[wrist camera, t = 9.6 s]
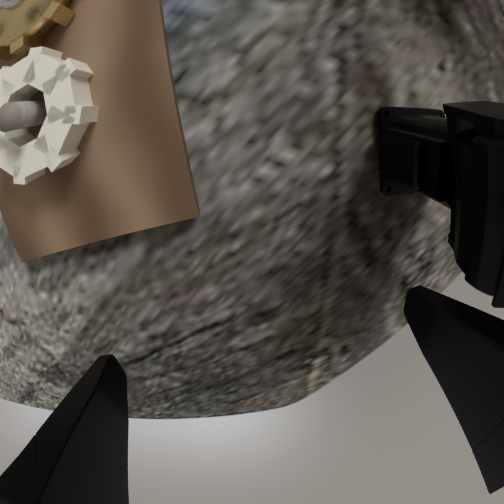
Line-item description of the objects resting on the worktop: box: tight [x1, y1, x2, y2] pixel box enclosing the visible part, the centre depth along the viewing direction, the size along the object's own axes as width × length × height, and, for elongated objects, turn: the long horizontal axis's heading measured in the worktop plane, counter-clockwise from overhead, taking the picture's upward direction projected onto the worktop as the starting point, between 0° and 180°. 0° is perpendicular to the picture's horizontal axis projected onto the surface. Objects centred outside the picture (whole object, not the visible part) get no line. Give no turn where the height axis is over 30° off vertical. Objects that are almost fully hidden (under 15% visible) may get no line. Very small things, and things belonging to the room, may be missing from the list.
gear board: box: [0, 0, 200, 263], centre depth 10 cm, size 14×22×6 cm, turn 9°
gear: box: [0, 0, 76, 60], centre depth 6 cm, size 8×8×4 cm
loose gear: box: [0, 46, 99, 185], centre depth 11 cm, size 7×7×2 cm
